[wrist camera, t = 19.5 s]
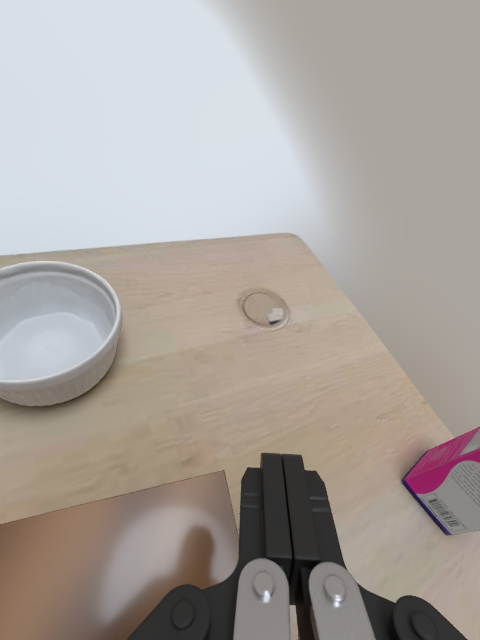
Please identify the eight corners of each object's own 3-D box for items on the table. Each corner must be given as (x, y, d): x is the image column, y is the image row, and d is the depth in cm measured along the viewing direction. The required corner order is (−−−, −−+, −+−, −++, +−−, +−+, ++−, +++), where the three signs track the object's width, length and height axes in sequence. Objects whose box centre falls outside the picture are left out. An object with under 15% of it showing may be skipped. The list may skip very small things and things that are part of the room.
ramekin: (122, 303, 38) (118, 259, 32) (128, 406, 30) (124, 372, 25) (-11, 309, 33) (-41, 259, 28) (-42, 432, 26) (-90, 396, 21)
